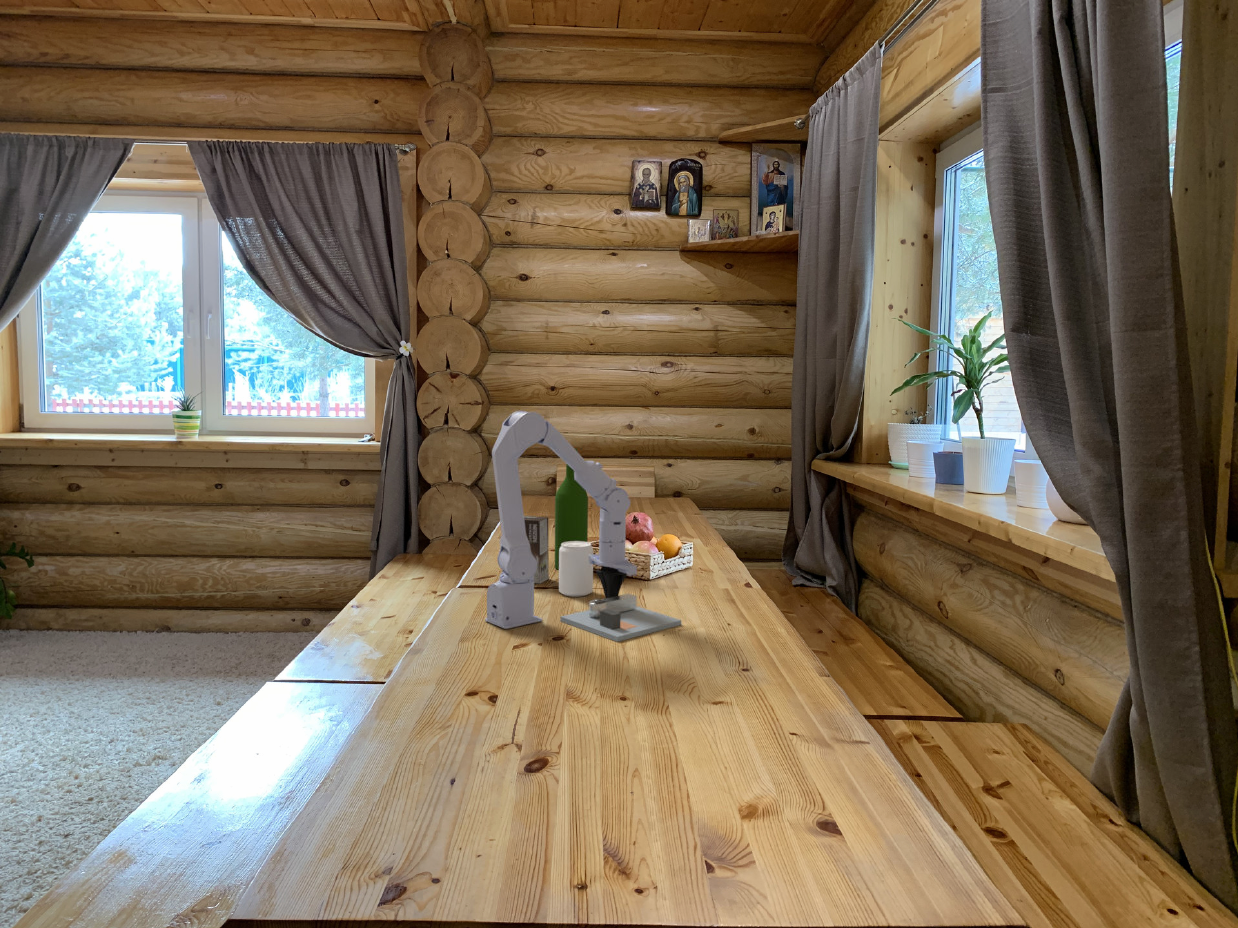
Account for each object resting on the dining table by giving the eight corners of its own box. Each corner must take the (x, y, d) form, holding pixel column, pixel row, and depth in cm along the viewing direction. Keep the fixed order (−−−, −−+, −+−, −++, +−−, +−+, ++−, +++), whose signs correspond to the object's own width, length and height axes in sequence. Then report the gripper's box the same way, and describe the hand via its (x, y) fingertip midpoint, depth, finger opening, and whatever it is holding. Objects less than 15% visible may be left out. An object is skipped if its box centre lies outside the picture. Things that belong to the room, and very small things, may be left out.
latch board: (617, 641, 158) (617, 621, 158) (560, 620, 171) (560, 602, 171) (681, 624, 170) (681, 606, 170) (623, 606, 183) (623, 589, 183)
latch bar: (596, 618, 169) (596, 603, 169) (585, 614, 172) (585, 599, 171) (637, 608, 177) (638, 594, 177) (626, 605, 180) (627, 590, 179)
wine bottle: (593, 566, 223) (595, 448, 220) (574, 573, 215) (576, 450, 212) (567, 562, 228) (568, 447, 224) (547, 568, 220) (548, 449, 217)
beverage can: (591, 597, 190) (592, 547, 189) (557, 597, 191) (557, 546, 189) (593, 589, 198) (594, 540, 197) (560, 588, 199) (560, 540, 197)
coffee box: (549, 578, 209) (550, 516, 207) (540, 584, 203) (540, 520, 201) (517, 575, 212) (517, 514, 210) (506, 581, 205) (506, 518, 204)
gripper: (647, 543, 174) (646, 605, 176) (606, 533, 186) (605, 591, 187) (622, 547, 170) (621, 610, 171) (581, 536, 181) (580, 596, 182)
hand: (611, 601), depth 179 cm, fingers closed
